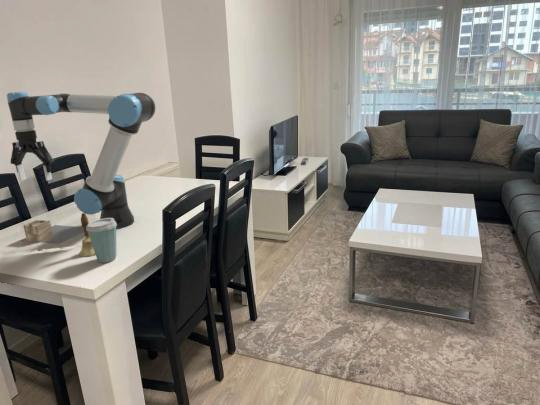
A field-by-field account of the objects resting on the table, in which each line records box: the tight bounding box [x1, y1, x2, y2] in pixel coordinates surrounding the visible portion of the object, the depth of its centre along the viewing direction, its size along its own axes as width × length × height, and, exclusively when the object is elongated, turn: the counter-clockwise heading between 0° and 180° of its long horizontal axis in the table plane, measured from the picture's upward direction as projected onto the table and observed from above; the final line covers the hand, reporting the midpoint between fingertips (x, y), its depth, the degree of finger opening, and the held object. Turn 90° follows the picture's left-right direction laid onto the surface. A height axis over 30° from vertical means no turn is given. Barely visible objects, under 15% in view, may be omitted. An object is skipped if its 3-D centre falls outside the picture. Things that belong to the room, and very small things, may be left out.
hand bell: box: [78, 212, 96, 258], centre depth 163 cm, size 8×8×16 cm
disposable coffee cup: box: [86, 218, 117, 263], centre depth 156 cm, size 11×11×15 cm
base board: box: [20, 224, 84, 245], centre depth 183 cm, size 20×19×2 cm
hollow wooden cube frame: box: [22, 219, 53, 243], centre depth 177 cm, size 7×7×7 cm
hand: (36, 179), depth 182 cm, fingers open, 13 cm apart
